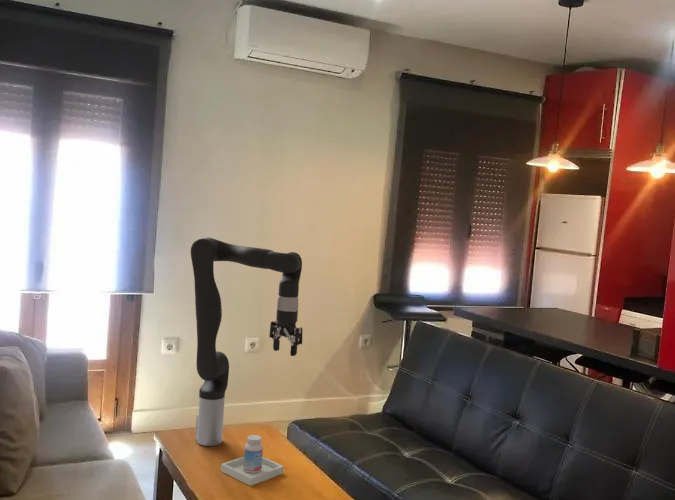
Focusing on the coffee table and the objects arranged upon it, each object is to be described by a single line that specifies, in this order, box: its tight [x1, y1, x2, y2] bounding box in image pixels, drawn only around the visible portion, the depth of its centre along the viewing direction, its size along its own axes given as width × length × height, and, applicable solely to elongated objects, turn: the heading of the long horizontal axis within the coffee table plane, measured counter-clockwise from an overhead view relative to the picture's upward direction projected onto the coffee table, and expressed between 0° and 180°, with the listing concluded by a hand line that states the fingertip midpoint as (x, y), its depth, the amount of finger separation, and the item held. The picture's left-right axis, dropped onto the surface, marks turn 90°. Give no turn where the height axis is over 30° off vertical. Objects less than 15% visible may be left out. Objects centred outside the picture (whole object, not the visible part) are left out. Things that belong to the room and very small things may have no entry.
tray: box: [220, 456, 285, 487], centre depth 233 cm, size 15×15×2 cm
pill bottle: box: [243, 434, 264, 473], centre depth 232 cm, size 6×6×11 cm
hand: (284, 353), depth 249 cm, fingers open, 8 cm apart
